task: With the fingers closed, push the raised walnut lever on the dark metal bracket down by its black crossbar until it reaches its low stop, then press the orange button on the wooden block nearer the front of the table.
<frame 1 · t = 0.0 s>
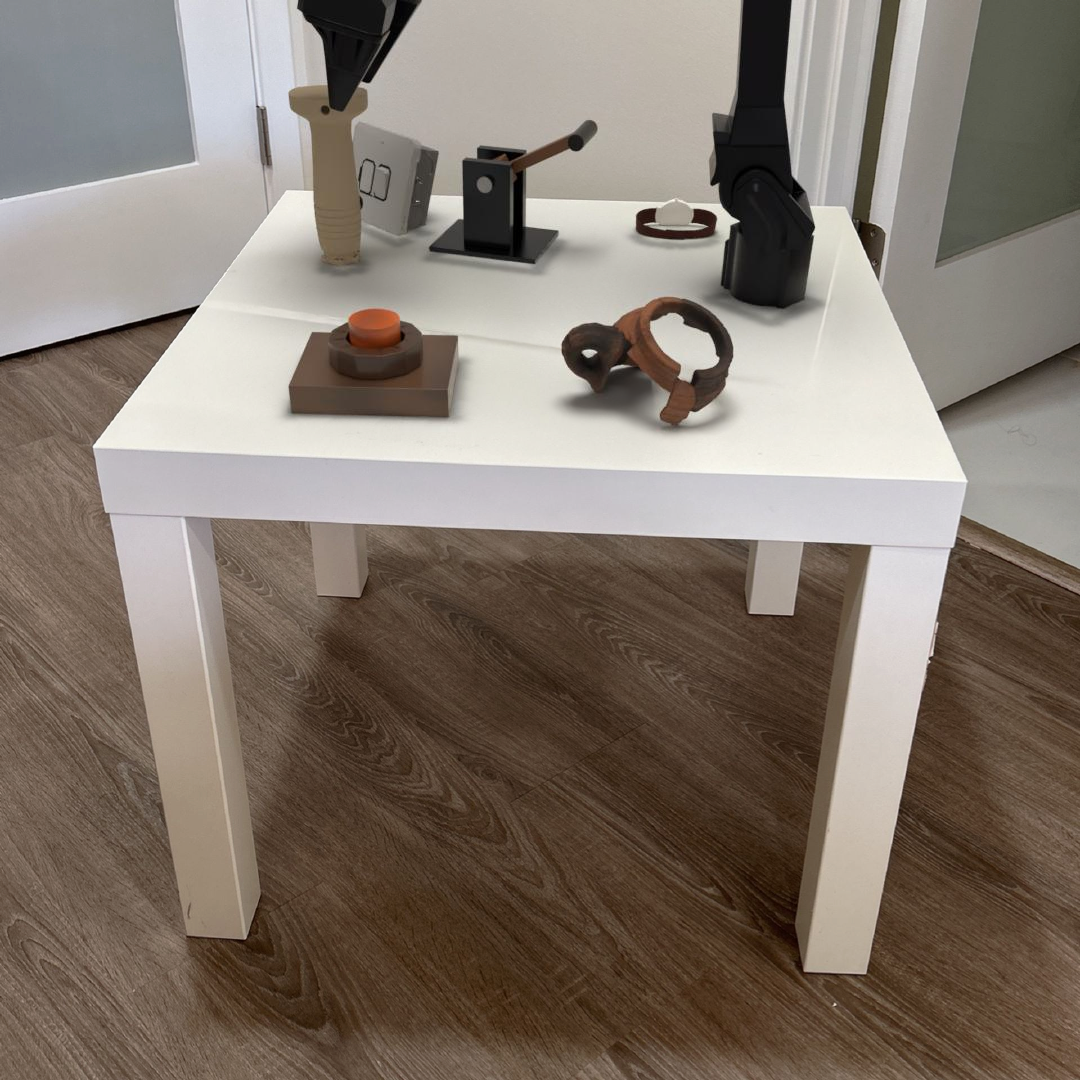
hand: (350, 95, 95), 15 cm above the table, tool pointing down, fingers open, 9 cm apart
bracket: (495, 250, 109), on the table
brown curved ring piece: (640, 400, 85), on the table
electrical switch: (389, 226, 115), on the table
lever: (534, 157, 104), point 9 cm above the table, hinge at 28.0°
watch: (674, 241, 113), on the table
button: (374, 329, 84), point 4 cm above the table, slide at 0.1 cm
button block: (378, 386, 86), on the table
handle: (342, 269, 106), on the table
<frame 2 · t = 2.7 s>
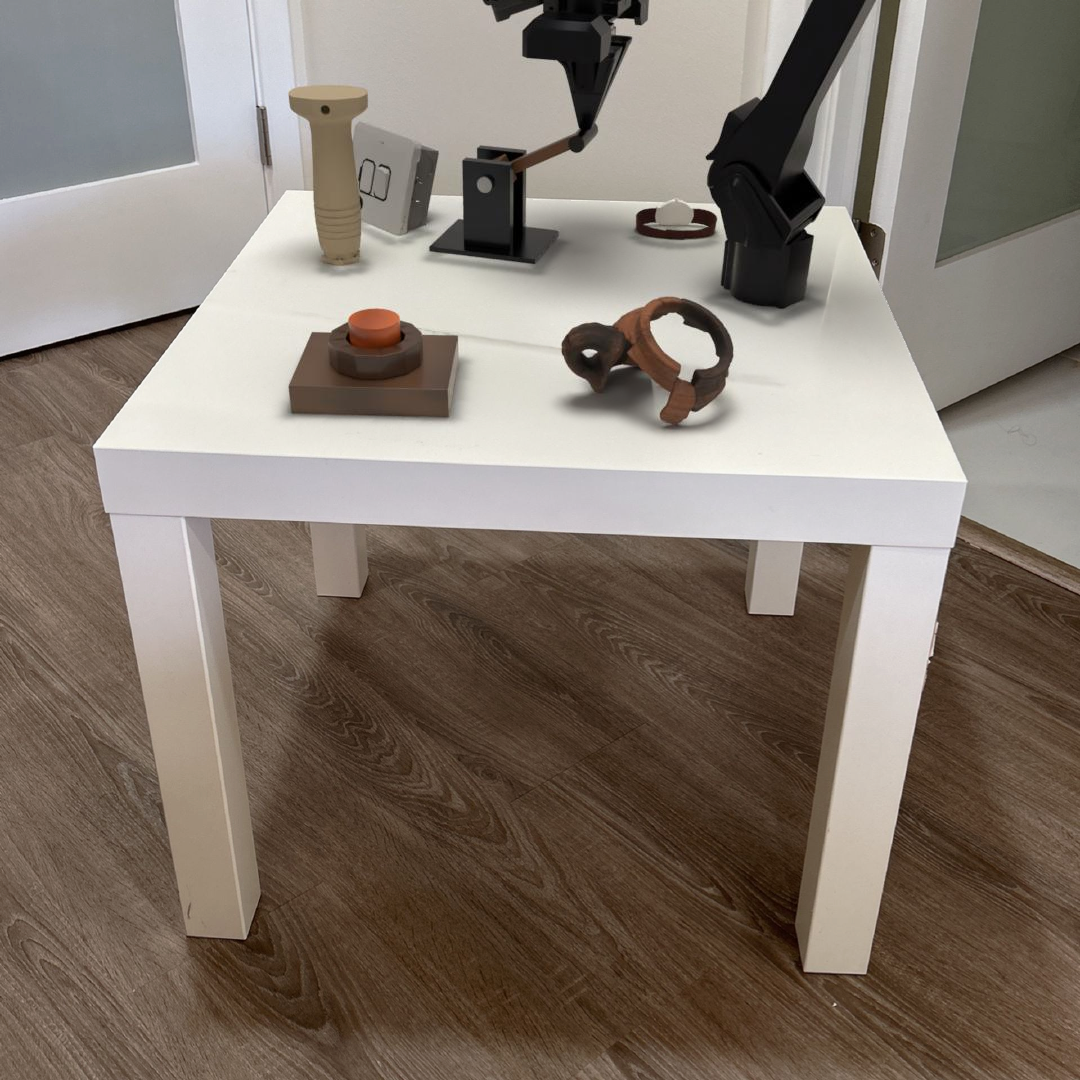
hand: (585, 128, 101), 12 cm above the table, tool pointing down, fingers closed, pressing on lever
lever: (534, 157, 104), point 9 cm above the table, hinge at 27.2°, touching gripper
everything else where it was.
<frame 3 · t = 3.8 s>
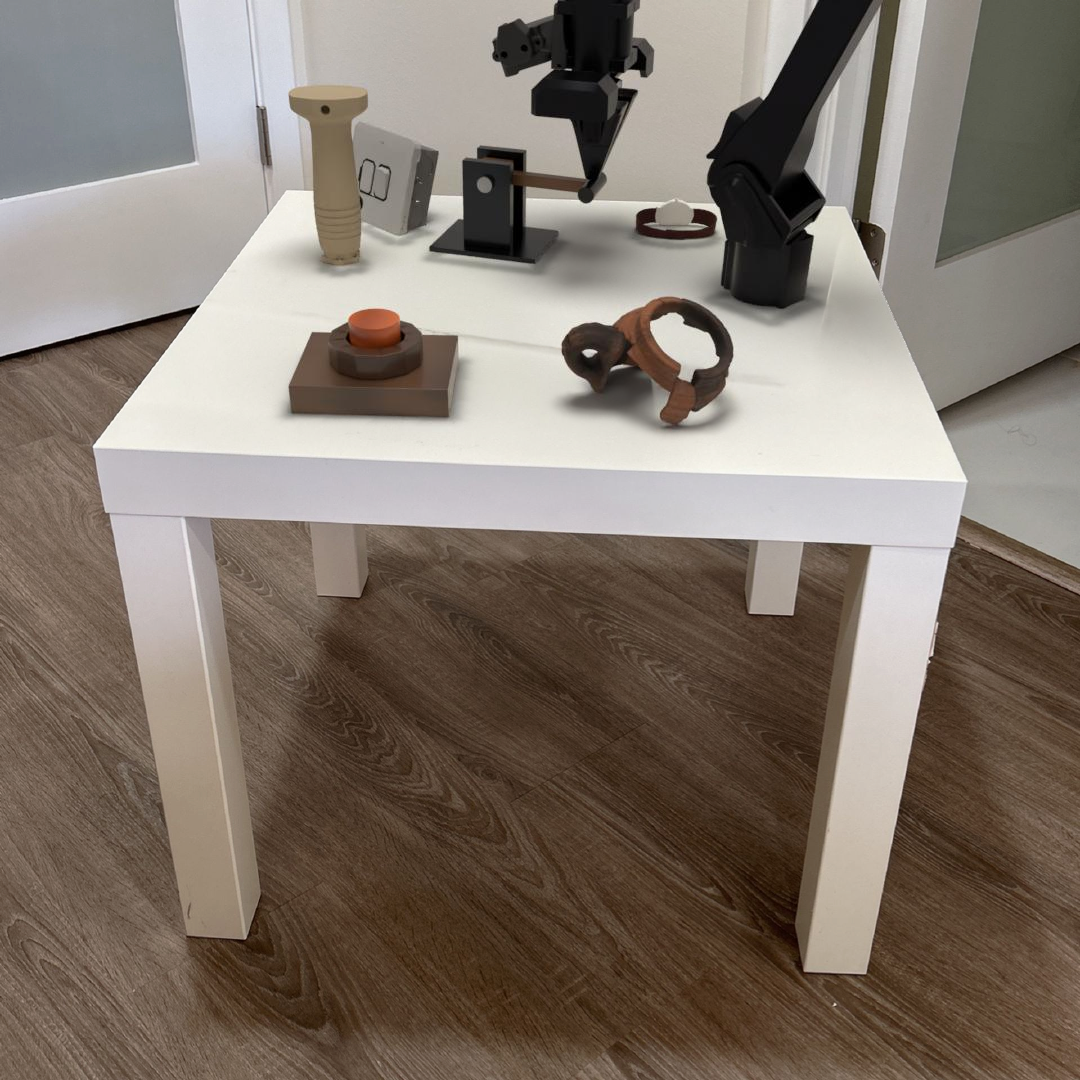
hand: (592, 178, 103), 8 cm above the table, tool pointing down, fingers closed, pressing on lever
lever: (539, 180, 105), point 7 cm above the table, hinge at -0.8°, touching gripper
everything else where it was.
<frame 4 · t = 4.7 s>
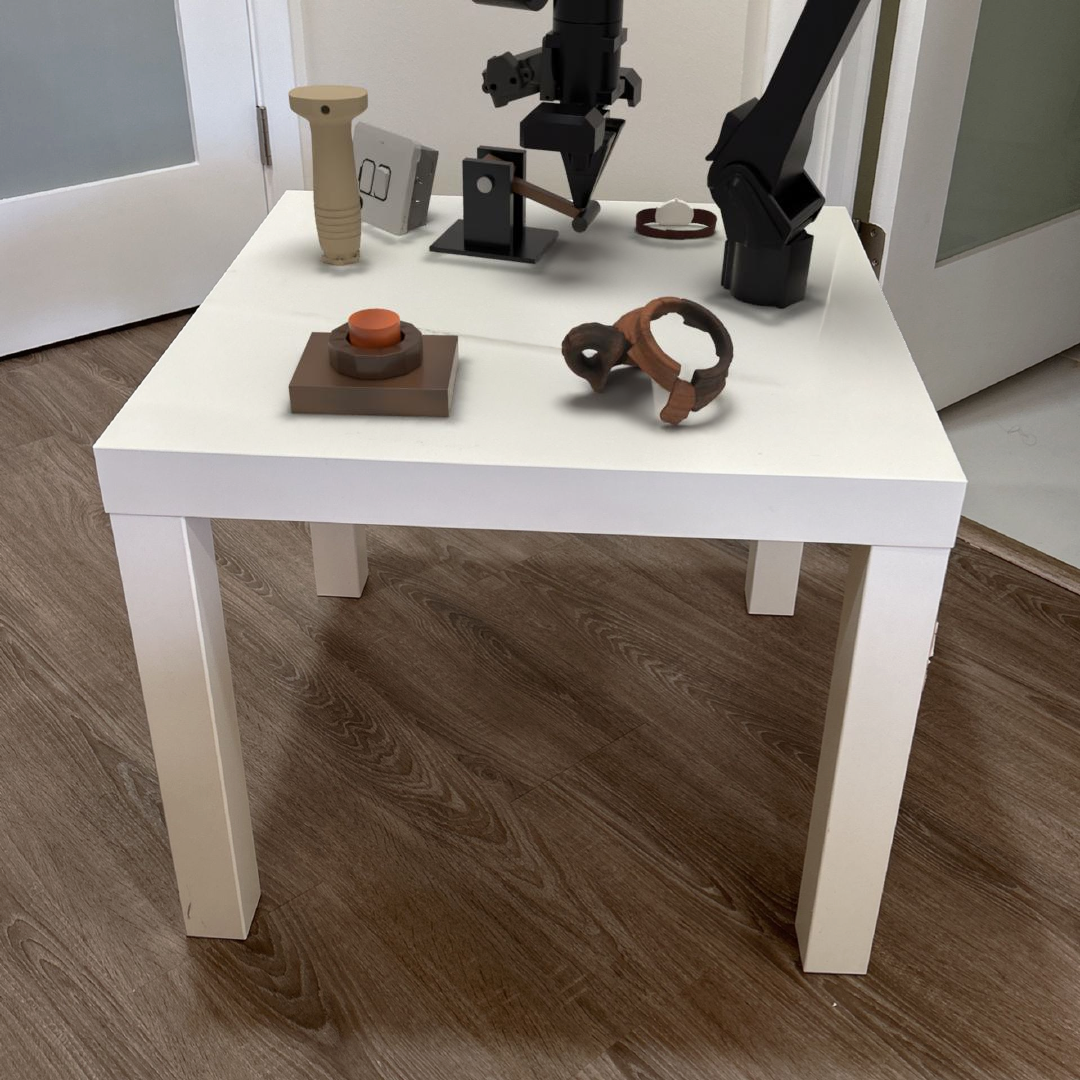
hand: (580, 206, 105), 5 cm above the table, tool pointing down, fingers closed, pressing on lever
lever: (537, 194, 105), point 6 cm above the table, hinge at -17.9°, touching gripper
everything else where it was.
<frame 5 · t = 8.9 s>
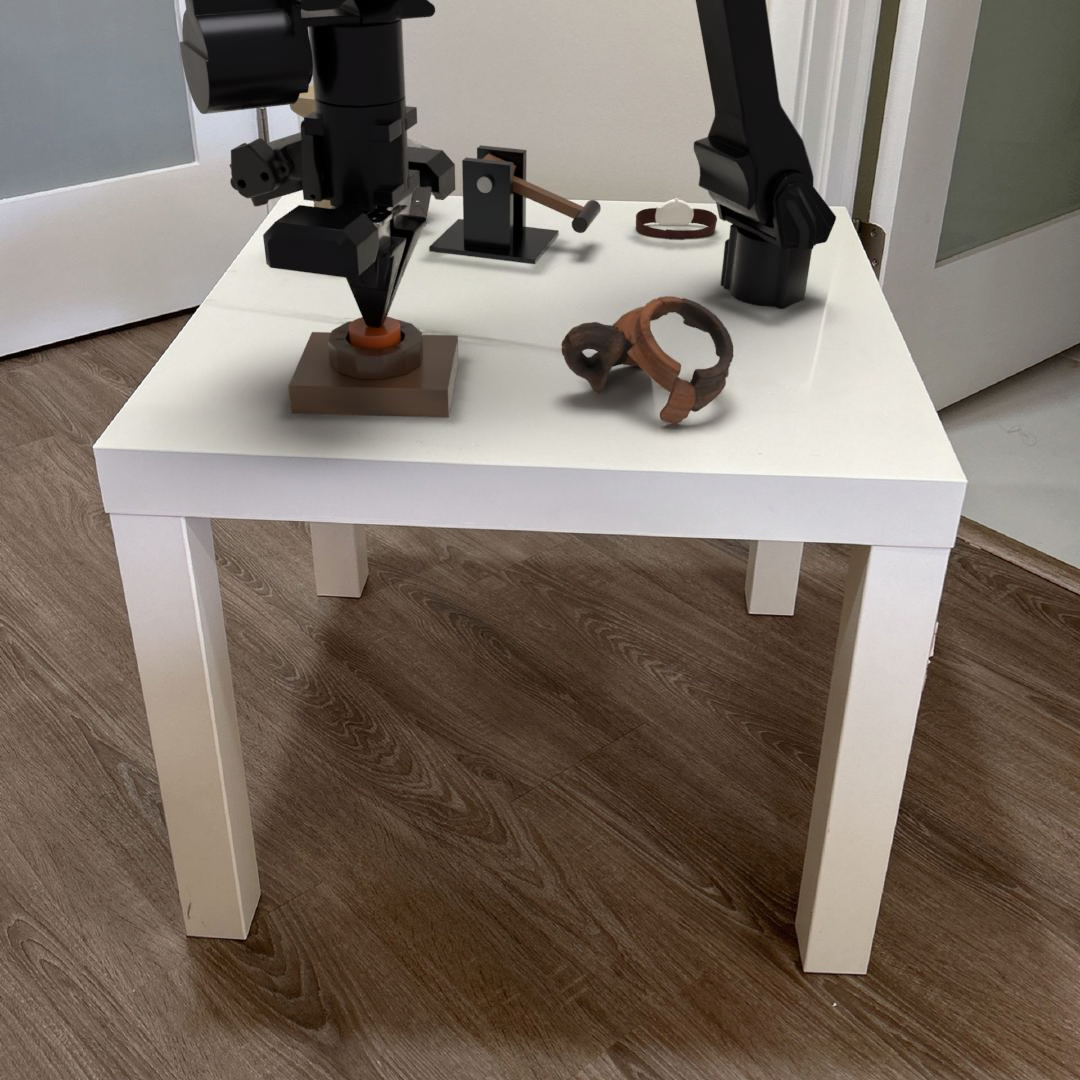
hand: (375, 325, 83), 5 cm above the table, tool pointing down, fingers closed, pressing on button
lever: (537, 194, 105), point 6 cm above the table, hinge at -18.0°
button: (375, 336, 84), point 4 cm above the table, slide at -0.4 cm, touching gripper
everything else where it was.
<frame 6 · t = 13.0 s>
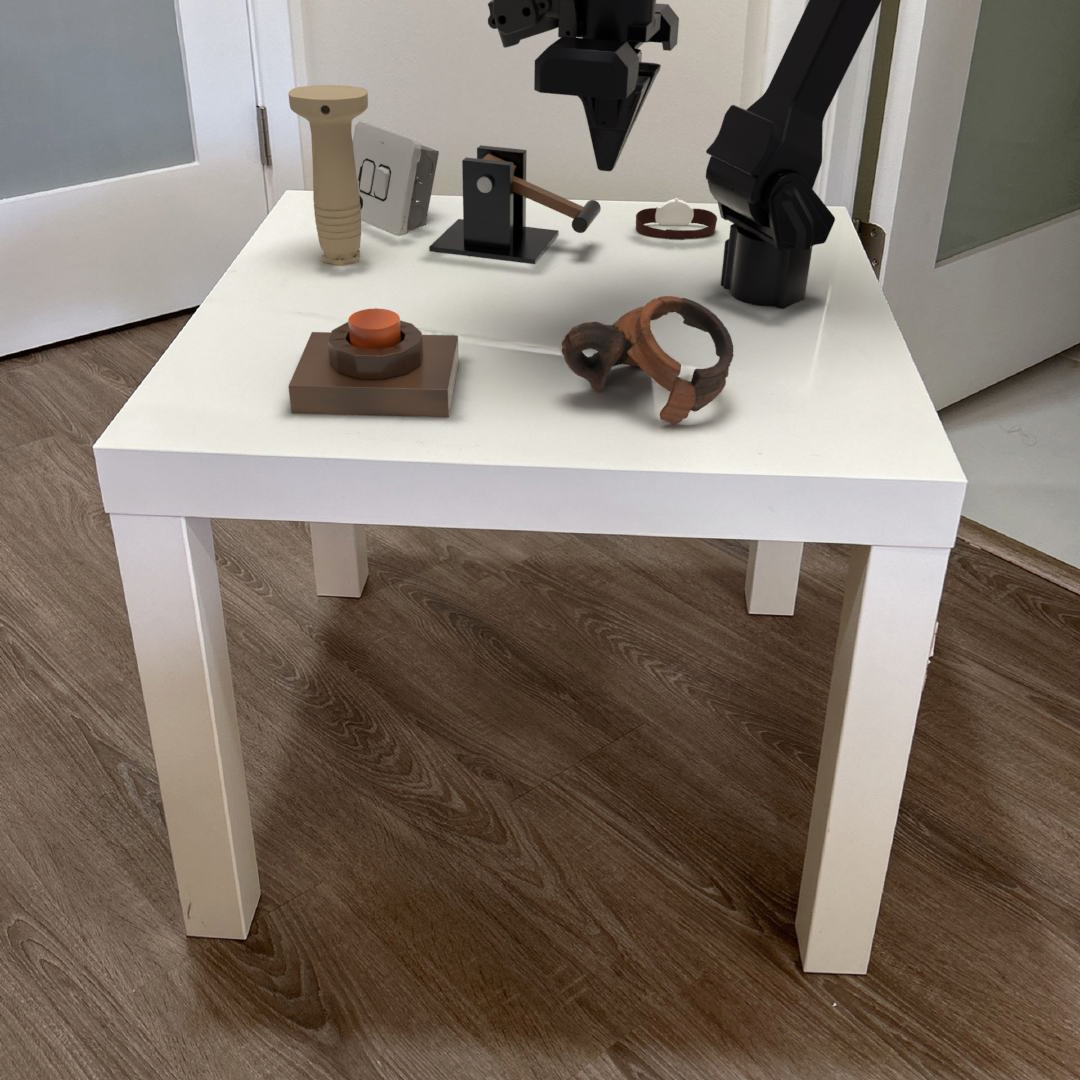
hand: (605, 169, 87), 13 cm above the table, tool pointing down, fingers closed
button: (374, 329, 84), point 4 cm above the table, slide at 0.1 cm
everything else where it was.
at the end: lever at -18° (first picture: +28°); button pushed in 1.1 cm at the most during the clip, back to where it started at the end; button slide at 0.1 cm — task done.
